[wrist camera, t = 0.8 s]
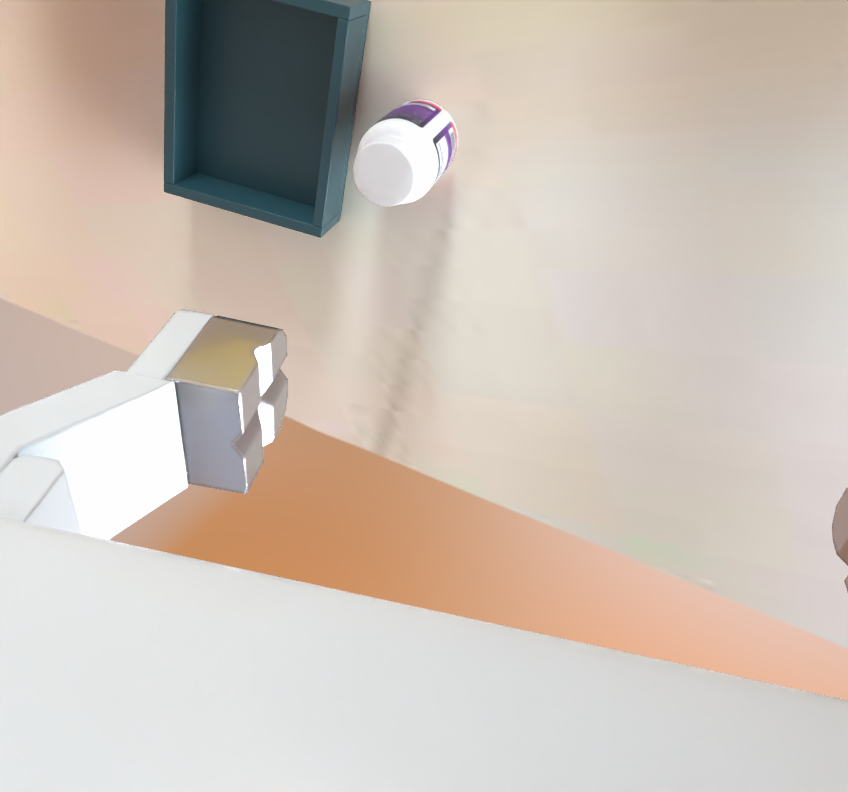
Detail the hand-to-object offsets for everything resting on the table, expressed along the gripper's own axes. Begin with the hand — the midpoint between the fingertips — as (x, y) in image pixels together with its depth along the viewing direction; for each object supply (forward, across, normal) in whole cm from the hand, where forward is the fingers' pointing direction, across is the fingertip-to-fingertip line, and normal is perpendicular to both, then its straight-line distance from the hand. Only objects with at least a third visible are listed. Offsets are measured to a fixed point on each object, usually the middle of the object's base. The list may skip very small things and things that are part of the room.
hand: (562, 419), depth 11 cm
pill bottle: (+46, +9, +14) cm, 49 cm away
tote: (+47, +21, +13) cm, 53 cm away
